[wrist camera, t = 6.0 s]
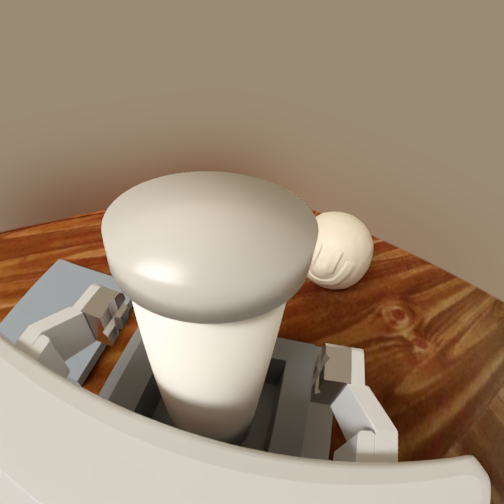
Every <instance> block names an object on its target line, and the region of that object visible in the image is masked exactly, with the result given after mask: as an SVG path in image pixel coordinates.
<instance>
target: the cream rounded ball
mask: <svg viewBox="0 0 504 504" xmlns="http://www.w3.org/2000/svg"><path fill="white" fill-rule="evenodd" d="M316 220H317V223H318V230H319V233H318V239H317V243H316V246H315V250H314V254H313V258H312V261H311V265H310V268H309V272H308V275H307V277H308V278H309V279H310V280H311V281H312V282H314V283H315V284H317V285H319V286H321V287H324V288H327V289H345V288H348V287H350V286H352V285H354V284H355V283H357V282H358V281H359V280H360V279H361V278H362V277H363V276H364V274H365V273H366V272H367V270H368V268H369V266H370V263H371V260H372V256H373V249H374V248H373V247H374V246H373V241H372V237H371V235H370V232H369V231H368V229H367V228H366V226H365V225H364V224H363V223H362V222H361V221H360V220H358V219H357V218H355V217H354V216H352V215H350V214H347V213H343V212H326V213H322V214H320V215H318V216H316Z"/></svg>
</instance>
